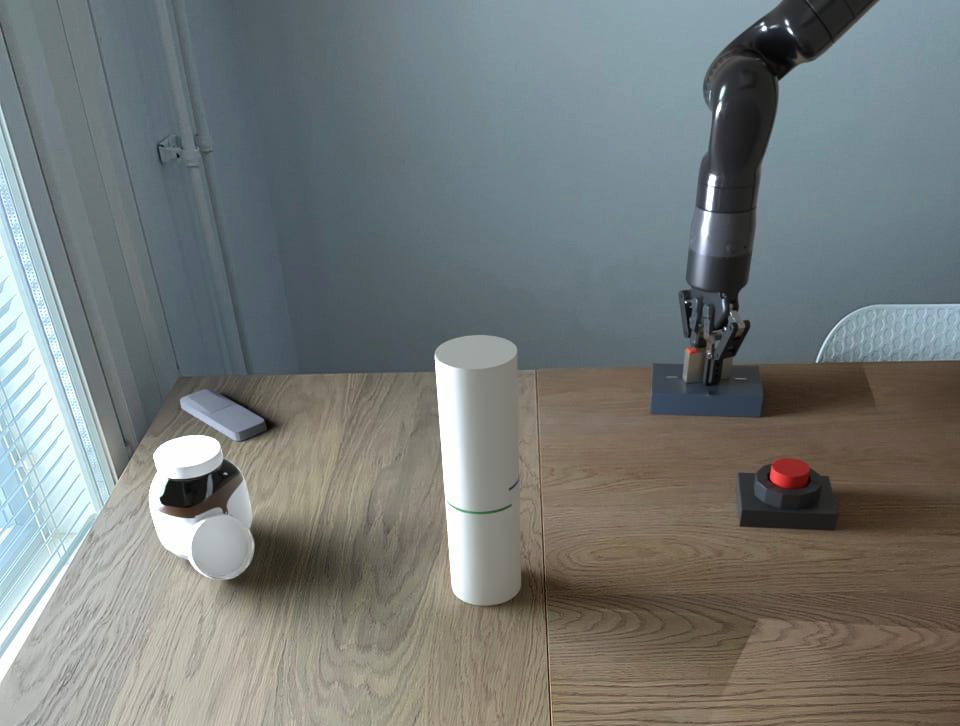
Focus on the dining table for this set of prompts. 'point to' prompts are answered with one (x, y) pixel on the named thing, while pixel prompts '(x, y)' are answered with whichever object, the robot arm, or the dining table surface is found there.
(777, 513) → the button box
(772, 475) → the button
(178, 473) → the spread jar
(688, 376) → the beige rectangular block
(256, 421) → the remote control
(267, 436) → the dining table surface
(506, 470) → the cylindrical container
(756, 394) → the switch panel
